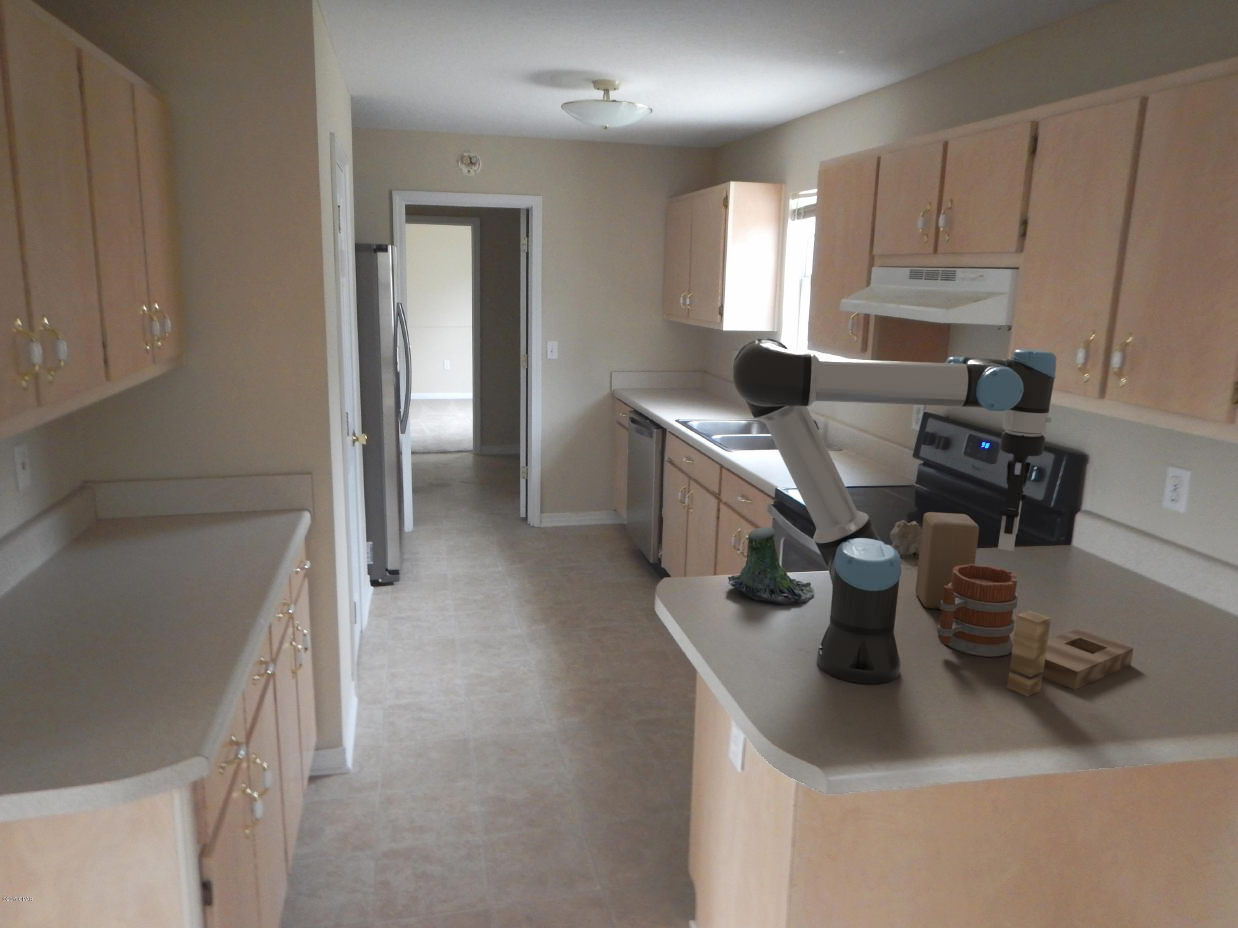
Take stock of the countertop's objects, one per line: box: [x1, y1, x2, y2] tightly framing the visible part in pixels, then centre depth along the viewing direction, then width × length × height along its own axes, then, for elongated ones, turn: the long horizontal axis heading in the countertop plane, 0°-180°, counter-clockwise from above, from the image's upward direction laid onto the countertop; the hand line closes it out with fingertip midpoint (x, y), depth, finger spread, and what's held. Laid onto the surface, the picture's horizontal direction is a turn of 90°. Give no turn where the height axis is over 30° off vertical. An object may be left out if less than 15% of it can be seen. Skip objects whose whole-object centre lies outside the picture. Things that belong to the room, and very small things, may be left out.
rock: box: [889, 520, 922, 558], centre depth 233 cm, size 9×12×10 cm
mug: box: [936, 564, 1019, 658], centre depth 177 cm, size 14×19×15 cm
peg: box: [1006, 610, 1052, 697], centre depth 159 cm, size 4×4×14 cm
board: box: [1042, 628, 1134, 690], centre depth 171 cm, size 20×11×4 cm, turn 124°
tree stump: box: [727, 526, 815, 606], centre depth 203 cm, size 18×20×18 cm
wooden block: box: [914, 511, 980, 610], centre depth 200 cm, size 10×10×20 cm
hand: (1007, 540), depth 172 cm, fingers open, 13 cm apart
